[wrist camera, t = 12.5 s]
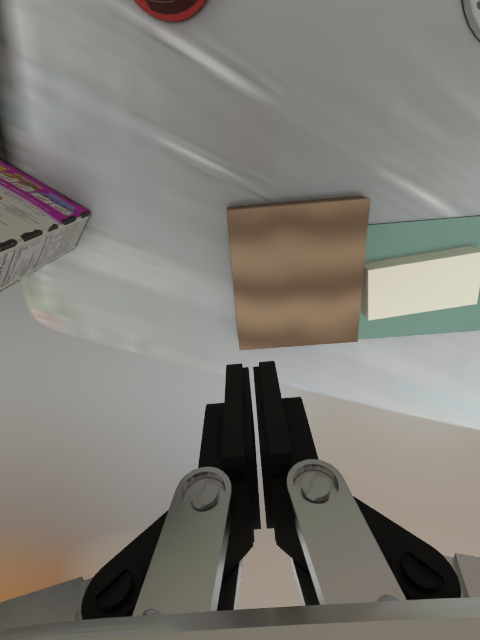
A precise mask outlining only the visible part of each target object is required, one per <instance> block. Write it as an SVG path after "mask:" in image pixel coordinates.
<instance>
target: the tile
mask: <svg viewBox="0 0 480 640" xmlns="http://www.w3.org/2000/svg"><path fill="white" fill-rule="evenodd" d="M479 288H480V249H477V248H475V247H472V246H465V247H459V248H453V249H447V250H441V251H435V252H429V253H423V254H417V255H411V256H404V257H398V258H392V259H386V260H380V261H374V262H368V263H364V274H363V285H362V297H361V313H362V314H363V315H364V316H365V317H366V319H367V320H368V321H369V320H375V319H382V318H389V317H395V316H402V315H408V314H415V313H421V312H428V311H434V310H441V309H447V308H454V307H460V306H467V305H473V304H477V301H478V295H479Z"/></svg>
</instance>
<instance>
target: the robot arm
mask: <svg viewBox="0 0 480 640" xmlns="http://www.w3.org/2000/svg"><path fill="white" fill-rule="evenodd" d="M463 3H464V10H465V13H466V16H467V19H468V22H469V25H470V27H471V28H472V30H473V32H474V33H475V35H476V36H477V38H478V39H479V40H480V0H463ZM477 6H478V8H477ZM253 370H254V382H255V394H256V407H257V419H258V431H259V443H260V455H261V466H262V478H263V490H264V501H265V511H266V523H267V528H274V530H275V540H276V544H277V545H278V546H279V547H280V548H281V549H282V550H283V551H284V552H286V553H287V554H288V555H289V556H290V561H291V566H292V570H293V573H294V577H295V580H296V584H297V588H298V591H299V595H300V598H301V602H302V606H293V607H277V608H259V609H242V610H237V608H238V600H239V591H240V583H241V574H242V558H243V557H244V556H245V555H246V554H247V553H248V551H249V550H250V549H251V548H252V546H253V542H254V529H261V523H260V508H259V493H258V478H257V463H256V449H255V434H254V422H253V411H252V402H251V401H252V400H251V390H250V379H249V369H248V367H246V368H242V364H232V365H227V366H226V386H225V403H217V404H207V405H206V410H205V418H204V426H203V434H202V442H201V450H200V458H199V466H198V469H195V470H193V471H191V472H190V473H188V474H187V475H185V476H184V477H183V479H182V480H181V481H180V483H179V484H178V486H177V488H176V491H175V494H174V496H173V499H172V502H171V505H170V508H169V510H168V511H167V512H166V513H164V514H163V515H162V516H161V517H160V518H159V519H158V520H156V521H155V522H154V523H153V524H152V525H151V526H149V527H148V528H147V529H146V530H145V531H144V532H143V533H141V534H140V535H139V536H138V537H137V538H136V539H135V540H133V541H132V542H131V543H130V544H129V545H128V546H126V547H125V548H124V549H123V550H122V551H121V552H120V553H118V554H117V555H116V556H115V557H114V558H113V559H112V560H110V561H109V562H108V563H107V564H106V565H105V566H104V567H102V568H101V569H100V571H99V572H98V573H97V574H96V575H95V576H94V577H93V578H91V579H88V580H83V578H82V577H79V578H76V579H73V580H70V581H66V582H63V583H60V584H57V585H54V586H51V587H48V588H45V589H41V590H38V591H35V592H32V593H29V594H26V595H22V596H19V597H16V598H13V599H10V600H7V601H3V602H0V640H480V557H474V556H468V555H463V554H457V553H455V556H454V558H453V557H448V556H443V555H442V554H441V553H439V552H438V551H437V550H436V549H434V548H433V547H432V546H430V545H429V544H427V543H426V542H424V541H422V540H421V539H419V538H417V537H416V536H414V535H413V534H411V533H410V532H408V531H407V530H405V529H404V528H402V527H401V526H399V525H397V524H396V523H394V522H393V521H391V520H389V519H388V518H386V517H385V516H383V515H382V514H380V513H379V512H377V511H376V510H374V509H372V508H371V507H369V506H368V505H366V504H365V503H363V502H361V501H360V500H358V499H357V498H355V497H354V496H352V494H351V492H350V490H349V488H348V486H347V484H346V482H345V480H344V478H343V476H342V475H341V474H340V472H339V471H338V470H337V469H336V468H335V467H334V466H332V465H331V464H329V463H327V462H324V461H322V460H318V456H317V453H316V449H315V445H314V442H313V438H312V435H311V431H310V427H309V424H308V420H307V416H306V413H305V409H304V406H303V402H302V399H301V397H295V398H281V393H280V389H279V383H278V377H277V372H276V367H275V362H274V361H268V362H259V366H258V367H253Z"/></svg>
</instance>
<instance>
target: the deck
mask: <svg viewBox="0 0 480 640" xmlns="http://www.w3.org/2000/svg"><path fill="white" fill-rule="evenodd" d="M369 206H370V198H366V197H363V196H356V197H345V198H333V199H321V200H309V201H297V202H286V203H274V204H262V205H250V206H238V207H227V219H228V229H229V240H230V251H231V262H232V273H233V283H234V294H235V305H236V316H237V327H238V337H239V348H240V350H250V349H263V348H277V347H290V346H304V345H317V344H331V343H344V342H358V331H359V320H360V308H361V297H362V285H363V274H364V263H365V251H366V240H367V228H368V217H369Z"/></svg>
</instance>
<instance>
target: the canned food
mask: <svg viewBox="0 0 480 640" xmlns="http://www.w3.org/2000/svg"><path fill="white" fill-rule="evenodd" d="M134 1H135V2H136V3H137V4H138V5H139V6H140V7H141V8H142V9H143V10H144V11H146V12H147V13H149V14H150V15H151V16H153V17H156V18H158V19H160V20H165V21H171V22H173V21H182V20H184V19H187V18H189V17H191V16H192V15H194V14H195V13H196V12H197V11H198V10H199V9H200V8H201V7H202V6H203V4H204V3H205V1H206V0H134Z"/></svg>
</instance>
